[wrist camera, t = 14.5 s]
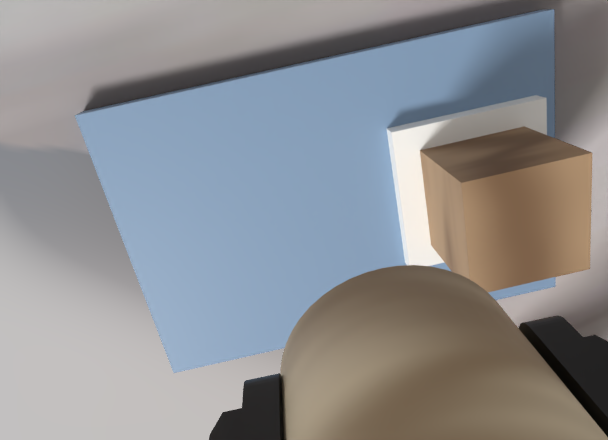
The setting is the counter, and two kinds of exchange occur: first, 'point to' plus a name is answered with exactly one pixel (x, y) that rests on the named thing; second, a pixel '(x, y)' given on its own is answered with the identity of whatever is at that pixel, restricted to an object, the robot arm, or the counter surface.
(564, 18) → the counter surface
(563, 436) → the maple cylinder
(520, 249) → the walnut cube
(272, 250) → the board
